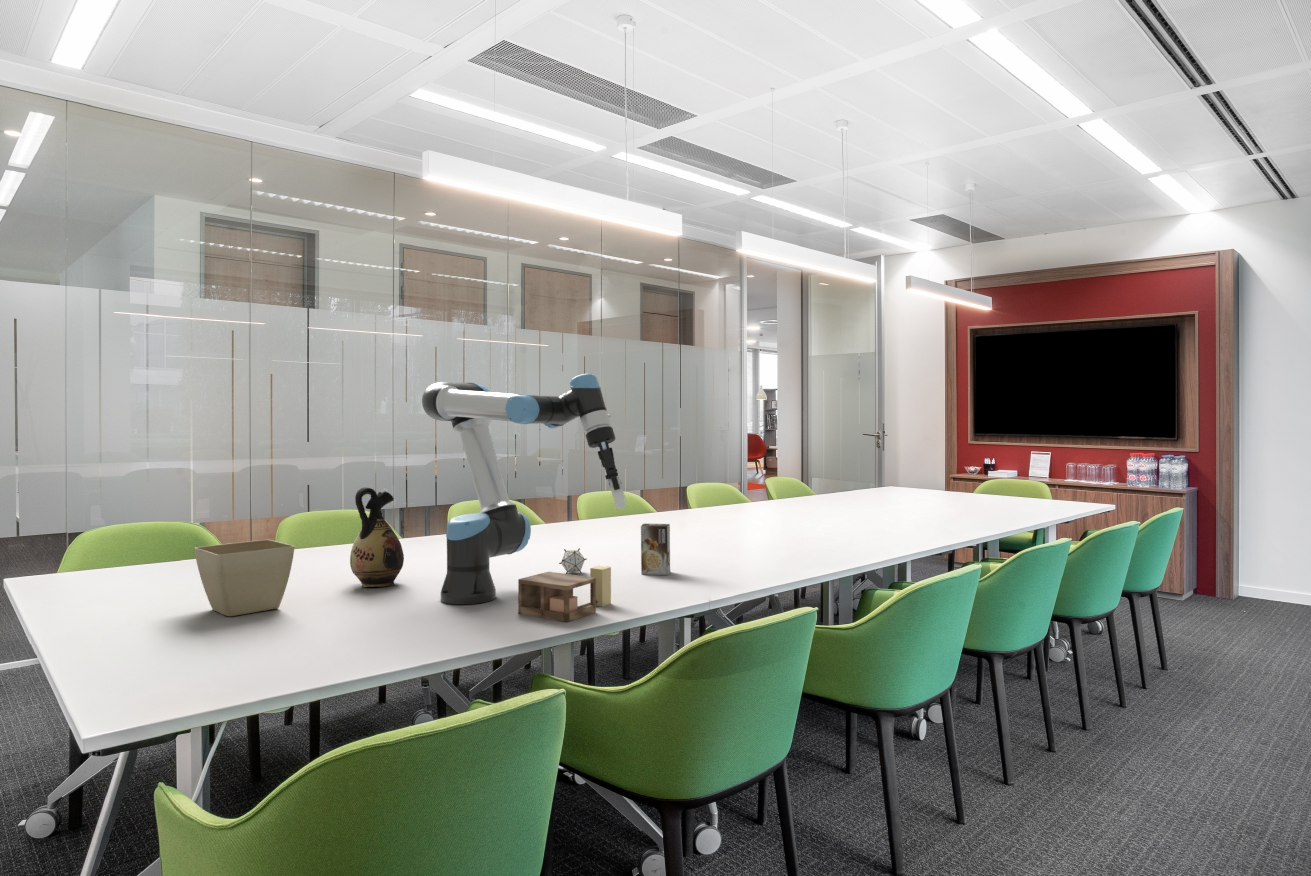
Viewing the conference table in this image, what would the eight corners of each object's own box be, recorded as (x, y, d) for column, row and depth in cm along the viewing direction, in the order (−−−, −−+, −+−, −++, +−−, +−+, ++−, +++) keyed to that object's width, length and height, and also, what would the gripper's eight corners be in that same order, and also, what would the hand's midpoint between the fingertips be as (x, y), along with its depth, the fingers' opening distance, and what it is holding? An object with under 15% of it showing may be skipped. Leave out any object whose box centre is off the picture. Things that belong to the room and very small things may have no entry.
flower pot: (193, 609, 204) (192, 546, 203) (268, 597, 217) (268, 538, 217) (218, 622, 191) (217, 554, 190) (296, 609, 205) (296, 545, 204)
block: (597, 601, 213) (597, 565, 213) (612, 603, 210) (612, 567, 210) (549, 617, 196) (549, 578, 196) (565, 620, 193) (565, 580, 193)
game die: (576, 585, 252) (580, 564, 246) (553, 575, 253) (556, 554, 247) (588, 567, 259) (592, 547, 253) (565, 558, 260) (569, 537, 254)
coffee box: (671, 571, 256) (671, 523, 255) (668, 575, 249) (668, 526, 249) (643, 570, 257) (643, 523, 257) (640, 574, 251) (640, 525, 250)
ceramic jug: (383, 577, 245) (383, 484, 245) (414, 583, 236) (413, 486, 236) (334, 586, 232) (333, 487, 231) (364, 593, 223) (364, 490, 222)
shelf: (548, 604, 210) (548, 571, 209) (595, 612, 201) (595, 577, 201) (518, 613, 199) (518, 579, 199) (566, 622, 191) (566, 586, 191)
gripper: (610, 415, 194) (635, 495, 190) (612, 435, 219) (634, 506, 215) (582, 423, 194) (606, 504, 190) (587, 442, 218) (609, 514, 214)
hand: (621, 505), depth 202 cm, fingers open, 13 cm apart
